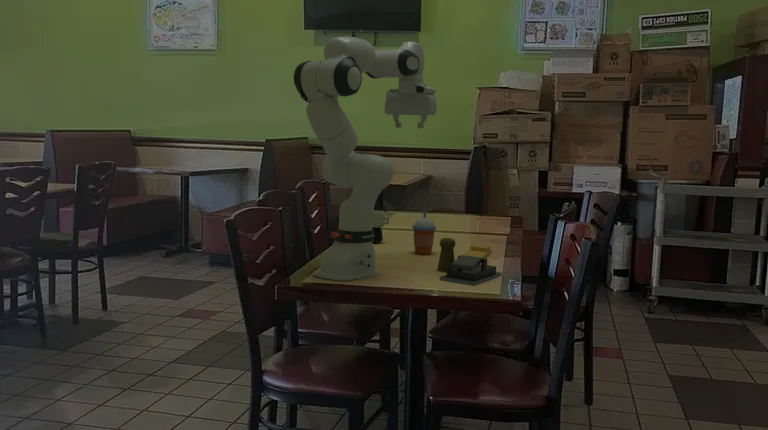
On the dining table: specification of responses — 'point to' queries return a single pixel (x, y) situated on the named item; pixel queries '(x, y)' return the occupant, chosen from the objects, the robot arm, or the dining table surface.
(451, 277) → the grey box with tabs
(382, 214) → the grey trophy cup
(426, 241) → the cup with straw
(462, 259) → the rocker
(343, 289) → the dining table surface
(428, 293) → the dining table surface
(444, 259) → the dark tall tapered piece
